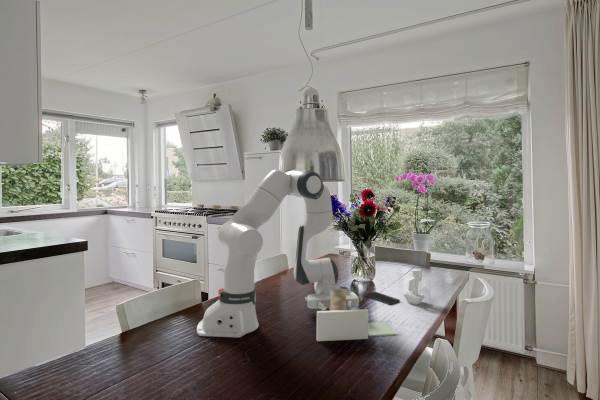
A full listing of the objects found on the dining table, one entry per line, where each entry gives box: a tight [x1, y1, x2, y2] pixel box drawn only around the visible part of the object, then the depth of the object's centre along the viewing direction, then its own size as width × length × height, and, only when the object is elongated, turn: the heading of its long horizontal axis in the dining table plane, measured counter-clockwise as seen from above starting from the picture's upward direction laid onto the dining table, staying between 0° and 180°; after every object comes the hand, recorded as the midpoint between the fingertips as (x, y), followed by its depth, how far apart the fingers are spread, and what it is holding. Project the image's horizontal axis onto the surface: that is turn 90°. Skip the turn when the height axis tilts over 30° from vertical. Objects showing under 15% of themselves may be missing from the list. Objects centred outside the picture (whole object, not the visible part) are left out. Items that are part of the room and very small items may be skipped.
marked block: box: [328, 290, 347, 311], centre depth 132 cm, size 5×5×14 cm
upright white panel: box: [315, 308, 370, 342], centre depth 125 cm, size 18×2×10 cm, turn 97°
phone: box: [364, 291, 401, 306], centre depth 166 cm, size 8×1×15 cm
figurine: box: [403, 268, 427, 306], centre depth 161 cm, size 7×9×15 cm
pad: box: [368, 322, 397, 337], centre depth 133 cm, size 10×10×1 cm
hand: (336, 308), depth 133 cm, fingers open, 8 cm apart
